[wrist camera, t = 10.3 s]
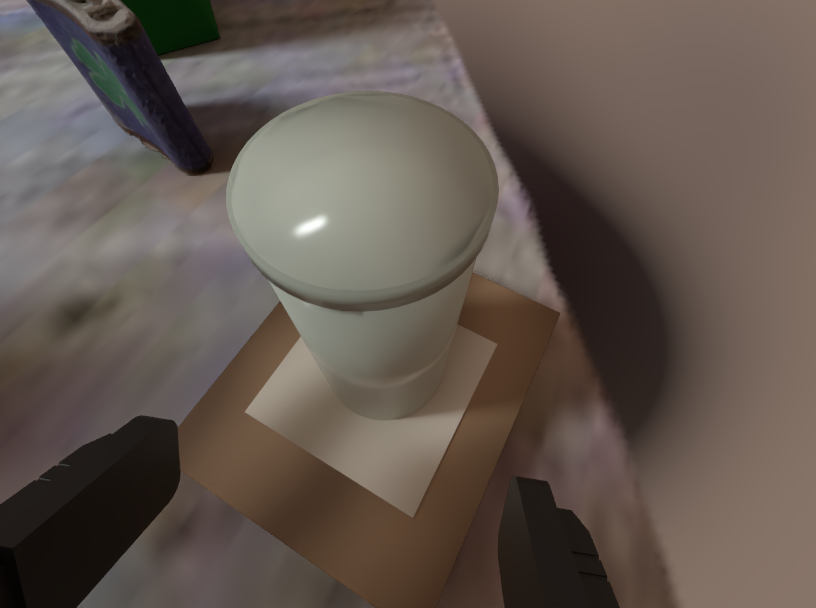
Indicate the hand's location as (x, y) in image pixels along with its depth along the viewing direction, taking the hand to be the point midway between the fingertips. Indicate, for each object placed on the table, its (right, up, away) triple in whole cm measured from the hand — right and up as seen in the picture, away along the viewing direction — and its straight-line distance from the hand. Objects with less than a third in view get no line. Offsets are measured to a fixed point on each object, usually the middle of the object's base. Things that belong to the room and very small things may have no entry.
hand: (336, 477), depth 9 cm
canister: (+1, +2, +8) cm, 9 cm away
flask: (-15, +15, +19) cm, 28 cm away
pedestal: (0, 0, +10) cm, 10 cm away
